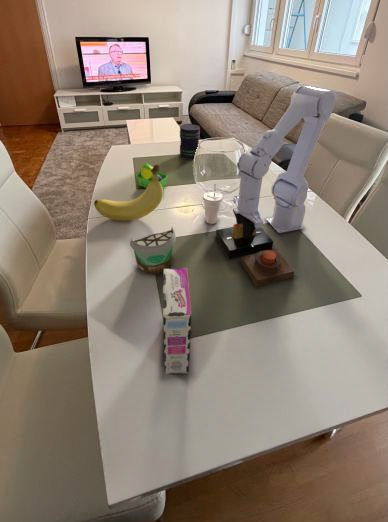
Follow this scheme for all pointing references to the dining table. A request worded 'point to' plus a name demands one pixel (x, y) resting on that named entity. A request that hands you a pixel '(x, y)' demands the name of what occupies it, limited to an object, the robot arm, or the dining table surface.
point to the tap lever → (239, 231)
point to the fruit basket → (149, 176)
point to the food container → (154, 252)
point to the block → (266, 268)
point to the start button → (268, 257)
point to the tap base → (243, 242)
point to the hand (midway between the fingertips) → (244, 234)
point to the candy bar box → (176, 321)
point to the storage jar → (189, 140)
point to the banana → (133, 202)
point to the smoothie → (212, 205)
